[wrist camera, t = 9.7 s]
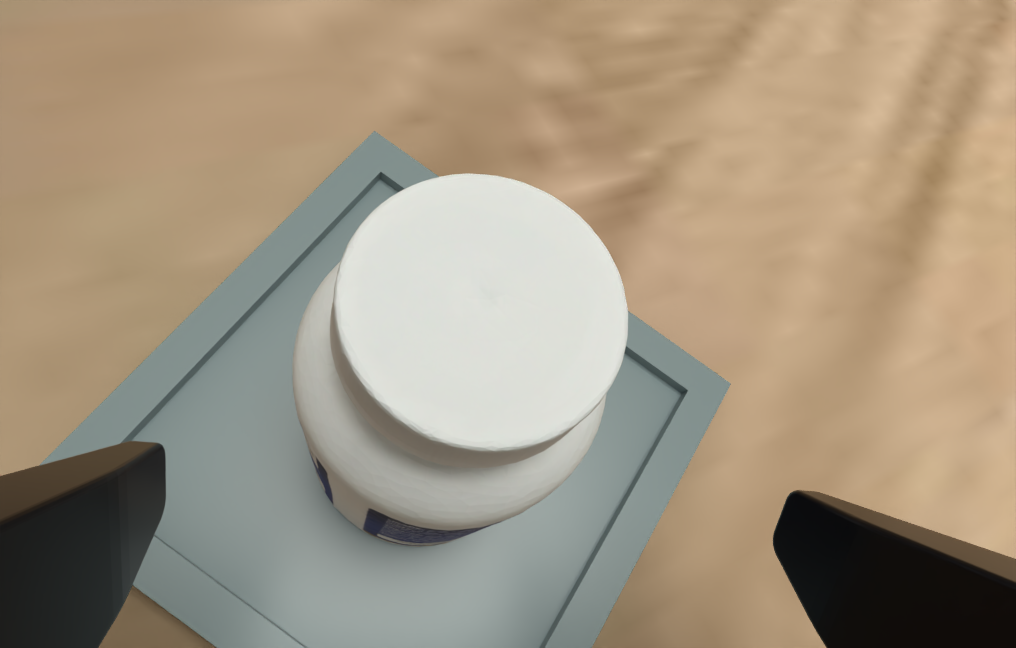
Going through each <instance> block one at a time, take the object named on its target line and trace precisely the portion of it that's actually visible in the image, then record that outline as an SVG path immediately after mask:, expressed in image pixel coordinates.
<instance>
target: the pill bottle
mask: <svg viewBox="0 0 1016 648" xmlns="http://www.w3.org/2000/svg"><path fill="white" fill-rule="evenodd" d="M627 336H628V308H627V303H626V298H625V292H624V287H623V284H622V280H621V277H620V274H619V272H618V269H617V267H616V265H615V263H614V261H613V259H612V257H611V255H610V253H609V252H608V250H607V248H606V247H605V245H604V244H603V242H602V241H601V240H600V238H599V237H598V236H597V235H596V234H595V232H594V231H593V230H592V228H591V227H590V226H589V225H588V224H587V223H586V222H585V221H584V220H583V219H582V218H581V217H580V216H579V215H578V214H577V213H576V212H574V211H573V210H572V209H571V208H569V207H568V206H567V205H565V204H564V203H563V202H561V201H559V200H558V199H556V198H555V197H553V196H552V195H550V194H548V193H546V192H544V191H542V190H540V189H537V188H535V187H533V186H530V185H528V184H526V183H523V182H520V181H516V180H513V179H509V178H504V177H500V176H493V175H484V174H453V175H447V176H442V177H437V178H432V179H429V180H426V181H423V182H420V183H417V184H415V185H412V186H410V187H408V188H406V189H403V190H402V191H400V192H398V193H396V194H395V195H393V196H391V197H390V198H388V199H387V200H386V201H384V202H383V203H382V204H380V205H379V206H378V207H377V208H376V209H375V210H374V211H373V212H372V213H371V214H370V215H369V216H368V217H367V218H366V219H365V220H364V221H363V222H362V224H361V225H360V226H359V227H358V229H357V230H356V232H355V233H354V235H353V236H352V238H351V239H350V241H349V243H348V245H347V247H346V249H345V252H344V254H343V257H342V259H341V261H340V262H339V263H338V264H337V265H336V266H335V267H334V268H333V269H332V271H331V272H330V273H329V274H328V275H327V276H326V277H325V278H324V280H323V281H322V282H321V284H320V285H319V287H318V288H317V290H316V291H315V293H314V294H313V296H312V298H311V300H310V302H309V304H308V306H307V308H306V310H305V312H304V314H303V317H302V320H301V322H300V325H299V329H298V332H297V335H296V341H295V347H294V353H293V366H292V370H293V376H292V377H293V391H294V399H295V405H296V410H297V416H298V419H299V422H300V424H301V427H302V429H303V432H304V436H305V439H306V442H307V445H308V449H309V452H310V455H311V458H312V461H313V464H314V467H315V471H316V474H317V476H318V479H319V481H320V484H321V486H322V488H323V490H324V491H325V493H326V495H327V496H328V498H329V499H330V501H331V502H332V504H333V505H334V507H335V508H336V509H337V510H338V511H339V512H340V513H342V514H343V515H344V516H345V517H346V518H347V519H348V520H349V521H350V522H351V523H353V524H354V525H355V526H356V527H358V528H359V529H361V530H363V531H364V532H366V533H368V534H370V535H372V536H374V537H376V538H378V539H380V540H383V541H386V542H389V543H393V544H398V545H404V546H413V547H419V546H432V545H439V544H445V543H448V542H451V541H454V540H456V539H459V538H462V537H464V536H467V535H469V534H471V533H474V532H477V531H479V530H481V529H484V528H487V527H489V526H492V525H494V524H497V523H500V522H502V521H504V520H506V519H509V518H512V517H514V516H516V515H519V514H521V513H522V512H524V511H525V510H527V509H528V508H530V507H532V506H534V505H535V504H537V503H539V502H540V501H541V500H543V499H544V498H545V497H547V496H548V495H549V494H551V493H552V492H553V491H554V490H555V489H557V488H558V487H559V486H560V485H561V484H562V483H563V482H564V481H565V480H566V479H567V478H568V477H569V476H570V475H571V474H572V472H573V471H574V470H575V468H576V467H577V466H578V465H579V463H580V462H581V461H582V459H583V458H584V456H585V454H586V453H587V451H588V449H589V447H590V446H591V444H592V442H593V440H594V438H595V435H596V433H597V431H598V428H599V425H600V422H601V418H602V415H603V411H604V407H605V400H606V393H607V392H608V390H609V389H610V387H611V385H612V384H613V382H614V380H615V378H616V376H617V374H618V371H619V369H620V367H621V364H622V361H623V356H624V352H625V348H626V343H627Z"/></svg>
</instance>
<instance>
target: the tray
mask: <svg viewBox="0 0 1016 648" xmlns="http://www.w3.org/2000/svg"><path fill="white" fill-rule="evenodd" d="M437 177H439V176H437V175H436V174H434V173H433V172H432V171H430V170H429V169H427V168H426V167H424V166H423V165H422V164H420V163H419V162H417V161H416V160H415V159H413V158H412V157H410V156H409V155H408V154H406V153H405V152H403V151H402V150H400V149H399V148H398V147H396V146H395V145H393V144H392V143H391V142H389V141H388V140H386V139H385V138H384V137H382V136H381V135H379V134H378V133H377V132H375V131H374V132H373V133H372V134H371V135H370V136H369V137H368V138H367V139H366V140H365V141H364V142H363V143H362V144H361V145H360V146H359V147H358V148H357V149H356V150H355V151H354V152H353V153H352V154H351V155H350V156H349V157H348V158H347V159H346V160H345V161H344V162H343V163H342V164H341V165H340V166H339V167H338V168H337V169H336V170H335V171H334V172H333V173H332V174H331V175H330V176H329V177H328V178H327V179H326V180H325V181H324V182H323V183H322V184H321V185H320V186H319V187H318V188H317V189H316V190H315V191H314V192H313V193H312V194H311V195H310V196H309V197H308V198H307V199H306V200H305V201H304V202H303V203H302V204H301V205H300V206H299V207H298V208H297V209H296V210H295V211H294V212H293V213H292V214H291V215H290V216H289V217H288V218H287V219H286V220H285V221H284V222H283V223H282V224H281V225H280V226H279V227H278V228H277V229H276V230H275V231H274V232H273V233H272V234H271V235H270V236H269V237H268V238H267V239H266V240H265V241H264V242H263V243H262V244H261V245H260V246H259V247H258V248H257V249H256V250H255V251H254V252H253V253H252V254H251V255H250V256H249V257H248V258H247V259H246V260H245V261H244V262H243V263H242V264H241V265H240V266H239V267H238V268H237V269H236V270H235V271H234V272H233V273H232V274H231V275H230V276H229V277H228V278H227V279H226V280H225V281H224V282H223V283H222V284H221V285H220V286H219V287H218V288H217V289H216V290H215V291H213V292H212V293H211V294H210V295H209V296H208V297H207V298H206V299H205V300H204V301H203V302H202V303H201V304H200V305H199V306H198V307H197V308H196V309H195V310H194V311H193V312H192V313H191V314H190V315H189V316H188V317H187V318H186V319H185V320H184V321H183V322H182V323H181V324H180V325H179V326H178V327H177V328H176V329H175V330H174V331H173V332H172V333H171V334H170V335H169V336H168V337H167V338H166V339H165V340H164V341H163V342H162V343H161V344H160V345H159V346H158V347H157V348H156V349H155V350H154V351H153V352H152V353H151V354H150V355H149V356H148V357H147V358H146V359H145V360H144V361H143V362H142V363H141V364H140V365H139V366H138V367H137V368H136V369H135V370H134V371H133V372H132V373H131V374H130V375H129V376H128V377H127V378H126V379H125V380H124V381H123V382H122V383H121V384H120V385H119V386H118V387H117V388H116V389H115V390H114V391H113V392H112V393H111V394H110V395H109V396H108V397H107V398H106V399H105V400H104V401H103V402H102V403H101V404H100V405H99V406H98V407H97V408H96V409H95V410H94V411H93V412H92V413H91V414H90V415H89V416H88V417H87V418H86V419H85V420H84V421H83V422H82V423H81V424H80V425H79V426H78V427H77V428H76V429H75V430H74V431H73V432H72V433H71V434H70V435H69V436H68V437H67V438H66V439H65V440H64V441H63V442H62V443H61V444H60V445H59V446H58V447H57V448H56V449H55V450H54V451H53V452H52V453H51V454H50V455H49V456H48V457H47V458H46V459H45V460H44V461H43V462H42V463H41V464H40V465H43V464H47V463H50V462H54V461H58V460H62V459H65V458H69V457H73V456H76V455H80V454H84V453H87V452H91V451H95V450H98V449H102V448H106V447H109V446H113V445H117V444H120V443H124V442H128V441H143V442H157V443H160V444H162V445H163V447H164V449H165V453H166V502H165V508H164V512H163V515H162V518H161V521H160V523H159V525H158V528H157V530H156V532H155V534H154V537H153V539H152V541H151V544H150V546H149V548H148V550H147V553H146V555H145V557H144V560H143V562H142V564H141V566H140V569H139V571H138V573H137V576H136V578H135V580H134V582H133V586H135V587H136V588H137V589H139V590H140V591H141V592H143V593H144V594H146V595H147V596H148V597H150V598H151V599H152V600H154V601H155V602H156V603H158V604H159V605H160V606H162V607H163V608H164V609H166V610H167V611H168V612H170V613H171V614H172V615H174V616H175V617H176V618H178V619H179V620H180V621H182V622H183V623H184V624H186V625H187V626H189V627H190V628H191V629H193V630H194V631H195V632H197V633H198V634H199V635H201V636H202V637H203V638H205V639H206V640H207V641H209V642H210V643H211V644H213V645H214V646H215V647H217V648H592V646H593V644H594V642H595V640H596V639H597V637H598V635H599V633H600V631H601V629H602V627H603V625H604V623H605V621H606V620H607V618H608V616H609V614H610V612H611V610H612V608H613V606H614V604H615V603H616V601H617V599H618V597H619V595H620V593H621V591H622V589H623V587H624V585H625V584H626V582H627V580H628V578H629V576H630V574H631V572H632V570H633V568H634V567H635V565H636V563H637V561H638V559H639V557H640V555H641V553H642V551H643V549H644V548H645V546H646V544H647V542H648V540H649V538H650V536H651V534H652V532H653V530H654V529H655V527H656V525H657V523H658V521H659V519H660V517H661V515H662V513H663V512H664V510H665V508H666V506H667V504H668V502H669V500H670V498H671V496H672V494H673V493H674V491H675V489H676V487H677V485H678V483H679V481H680V479H681V477H682V476H683V474H684V472H685V470H686V468H687V466H688V464H689V462H690V460H691V458H692V457H693V455H694V453H695V451H696V449H697V447H698V445H699V443H700V441H701V439H702V438H703V436H704V434H705V432H706V430H707V428H708V426H709V424H710V422H711V421H712V419H713V417H714V415H715V413H716V411H717V409H718V407H719V405H720V403H721V402H722V400H723V398H724V396H725V394H726V392H727V390H728V388H729V386H730V383H729V382H728V381H726V380H725V379H723V378H722V377H721V376H719V375H718V374H716V373H715V372H714V371H712V370H711V369H709V368H708V367H707V366H705V365H704V364H702V363H701V362H699V361H698V360H697V359H695V358H694V357H692V356H691V355H690V354H688V353H687V352H685V351H684V350H683V349H681V348H680V347H678V346H677V345H675V344H674V343H673V342H671V341H670V340H668V339H667V338H666V337H664V336H663V335H661V334H660V333H659V332H657V331H656V330H654V329H653V328H652V327H650V326H649V325H647V324H646V323H644V322H643V321H642V320H640V319H639V318H637V317H636V316H635V315H633V314H632V313H630V312H629V311H628V336H627V343H626V348H625V352H624V356H623V361H622V364H621V367H620V369H619V371H618V374H617V376H616V378H615V380H614V382H613V384H612V385H611V387H610V389H609V390H608V392H607V393H606V400H605V407H604V411H603V415H602V418H601V422H600V425H599V428H598V431H597V433H596V435H595V438H594V440H593V442H592V444H591V446H590V447H589V449H588V451H587V453H586V454H585V456H584V458H583V459H582V461H581V462H580V463H579V465H578V466H577V467H576V468H575V470H574V471H573V472H572V474H571V475H570V476H569V477H568V478H567V479H566V480H565V481H564V482H563V483H562V484H561V485H560V486H559V487H558V488H557V489H555V490H554V491H553V492H552V493H551V494H549V495H548V496H547V497H545V498H544V499H543V500H541V501H540V502H539V503H537V504H535V505H534V506H532V507H530V508H528V509H527V510H525V511H524V512H522V513H521V514H519V515H516V516H514V517H512V518H509V519H506V520H504V521H502V522H500V523H497V524H494V525H492V526H489V527H487V528H484V529H481V530H479V531H477V532H474V533H471V534H469V535H467V536H464V537H462V538H459V539H456V540H454V541H451V542H448V543H445V544H439V545H432V546H419V547H413V546H404V545H398V544H393V543H389V542H386V541H383V540H380V539H378V538H376V537H374V536H372V535H370V534H368V533H366V532H364V531H363V530H361V529H359V528H358V527H356V526H355V525H354V524H353V523H351V522H350V521H349V520H348V519H347V518H346V517H345V516H344V515H343V514H342V513H340V512H339V511H338V510H337V509H336V508H335V507H334V505H333V504H332V502H331V501H330V499H329V498H328V496H327V495H326V493H325V491H324V490H323V488H322V486H321V484H320V481H319V479H318V476H317V474H316V471H315V467H314V464H313V461H312V458H311V455H310V452H309V449H308V445H307V442H306V439H305V436H304V432H303V429H302V427H301V424H300V422H299V419H298V416H297V410H296V405H295V399H294V391H293V377H292V376H293V370H292V366H293V353H294V347H295V341H296V335H297V332H298V329H299V325H300V322H301V320H302V317H303V314H304V312H305V310H306V308H307V306H308V304H309V302H310V300H311V298H312V296H313V294H314V293H315V291H316V290H317V288H318V287H319V285H320V284H321V282H322V281H323V280H324V278H325V277H326V276H327V275H328V274H329V273H330V272H331V271H332V269H333V268H334V267H335V266H336V265H337V264H338V263H339V262H340V261H341V259H342V257H343V254H344V252H345V249H346V247H347V245H348V243H349V241H350V239H351V238H352V236H353V235H354V233H355V232H356V230H357V229H358V227H359V226H360V225H361V224H362V222H363V221H364V220H365V219H366V218H367V217H368V216H369V215H370V214H371V213H372V212H373V211H374V210H375V209H376V208H377V207H378V206H379V205H380V204H382V203H383V202H384V201H386V200H387V199H388V198H390V197H391V196H393V195H395V194H396V193H398V192H400V191H402V190H403V189H406V188H408V187H410V186H412V185H415V184H417V183H420V182H423V181H426V180H429V179H432V178H437Z"/></svg>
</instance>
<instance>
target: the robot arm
mask: <svg viewBox="0 0 1016 648" xmlns="http://www.w3.org/2000/svg"><path fill="white" fill-rule="evenodd" d="M165 502H166V453H165V449H164V447H163V445H162V444H160V443H157V442H143V441H128V442H124V443H120V444H117V445H113V446H109V447H106V448H102V449H98V450H95V451H91V452H87V453H84V454H80V455H76V456H73V457H69V458H65V459H62V460H58V461H54V462H50V463H47V464H43V465H39V466H36V467H32V468H28V469H25V470H21V471H17V472H14V473H10V474H6V475H3V476H0V648H98V647H99V645H100V644H101V642H102V640H103V639H104V637H105V635H106V634H107V632H108V630H109V629H110V627H111V625H112V624H113V622H114V620H115V619H116V617H117V615H118V613H119V612H120V610H121V608H122V606H123V604H124V602H125V600H126V598H127V596H128V594H129V591H130V589H131V587H132V585H133V582H134V580H135V578H136V576H137V573H138V571H139V569H140V566H141V564H142V562H143V560H144V557H145V555H146V553H147V550H148V548H149V546H150V544H151V541H152V539H153V537H154V534H155V532H156V530H157V528H158V525H159V523H160V521H161V518H162V515H163V512H164V508H165ZM773 546H774V550H775V553H776V555H777V557H778V559H779V561H780V563H781V565H782V567H783V569H784V571H785V573H786V575H787V577H788V579H789V580H790V582H791V584H792V586H793V588H794V590H795V592H796V594H797V596H798V598H799V600H800V602H801V604H802V606H803V607H804V609H805V611H806V613H807V615H808V617H809V619H810V621H811V622H812V624H813V626H814V628H815V630H816V631H817V633H818V635H819V636H820V638H821V639H822V641H823V643H824V644H825V646H826V647H827V648H1016V559H1014V558H1011V557H1008V556H1005V555H1002V554H999V553H996V552H993V551H990V550H988V549H985V548H982V547H979V546H976V545H973V544H970V543H967V542H964V541H961V540H958V539H955V538H952V537H949V536H946V535H943V534H940V533H938V532H935V531H932V530H929V529H926V528H923V527H920V526H917V525H914V524H911V523H908V522H905V521H902V520H899V519H896V518H893V517H890V516H888V515H885V514H882V513H879V512H876V511H873V510H870V509H867V508H864V507H861V506H858V505H855V504H852V503H849V502H846V501H843V500H840V499H838V498H835V497H832V496H829V495H826V494H823V493H820V492H814V491H802V490H796V491H793V492H792V493H790V494H789V496H788V497H787V499H786V502H785V504H784V507H783V510H782V512H781V515H780V518H779V520H778V523H777V526H776V528H775V531H774V535H773Z"/></svg>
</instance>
